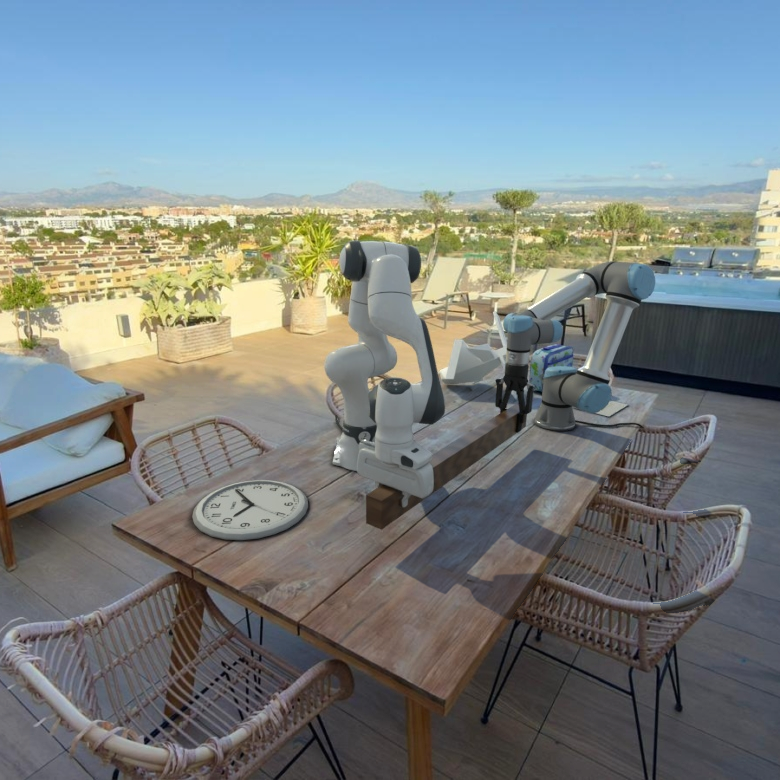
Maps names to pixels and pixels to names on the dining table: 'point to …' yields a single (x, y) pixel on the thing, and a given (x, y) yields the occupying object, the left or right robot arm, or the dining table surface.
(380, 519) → the beam
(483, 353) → the white plastic object
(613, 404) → the invitation card
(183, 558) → the dining table surface
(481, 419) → the dining table surface
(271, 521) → the wall clock
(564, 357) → the lunch box
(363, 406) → the left robot arm
